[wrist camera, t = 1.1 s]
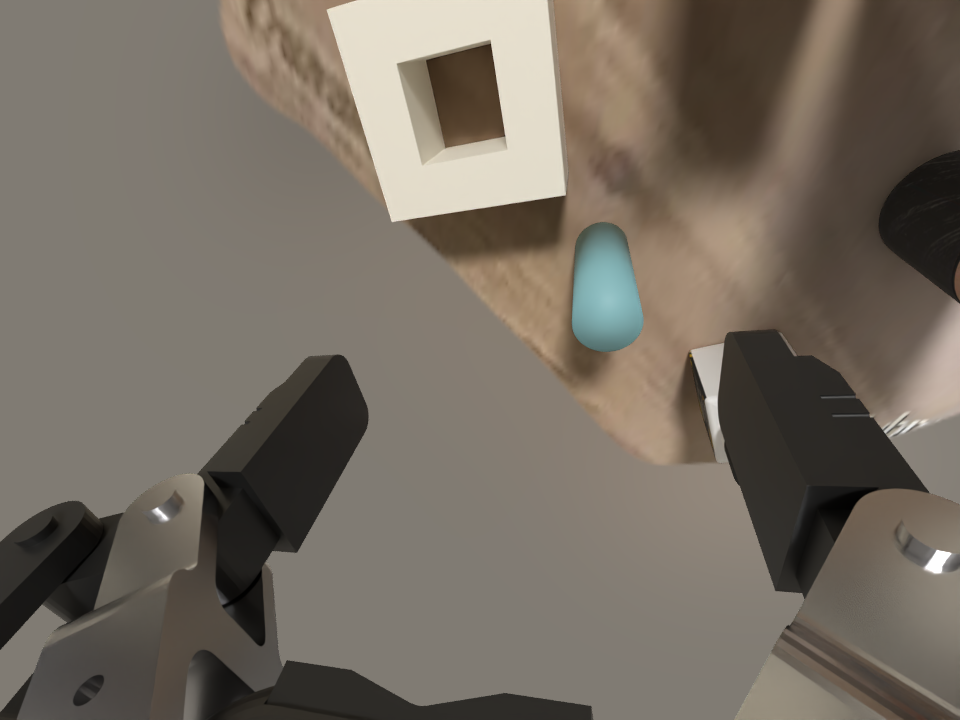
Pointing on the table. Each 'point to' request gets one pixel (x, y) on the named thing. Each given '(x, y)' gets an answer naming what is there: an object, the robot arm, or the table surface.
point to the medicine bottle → (713, 394)
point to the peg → (605, 290)
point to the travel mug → (927, 221)
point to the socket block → (412, 109)
